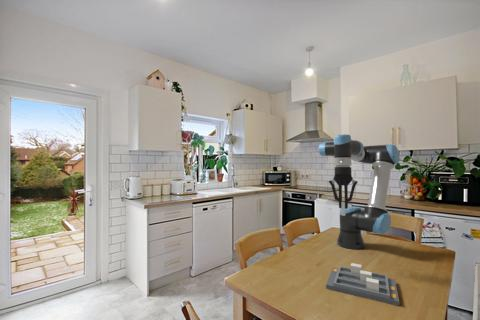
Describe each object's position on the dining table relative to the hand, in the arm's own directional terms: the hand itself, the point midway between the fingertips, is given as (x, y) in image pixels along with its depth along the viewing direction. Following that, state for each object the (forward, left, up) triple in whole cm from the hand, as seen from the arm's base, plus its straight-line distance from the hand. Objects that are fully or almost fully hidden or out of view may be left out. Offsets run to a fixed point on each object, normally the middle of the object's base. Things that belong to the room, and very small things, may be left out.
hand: (343, 215), depth 114 cm
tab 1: (+11, +6, -23) cm, 26 cm away
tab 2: (+17, +10, -23) cm, 30 cm away
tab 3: (+23, +12, -23) cm, 35 cm away
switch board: (+17, +8, -24) cm, 31 cm away
